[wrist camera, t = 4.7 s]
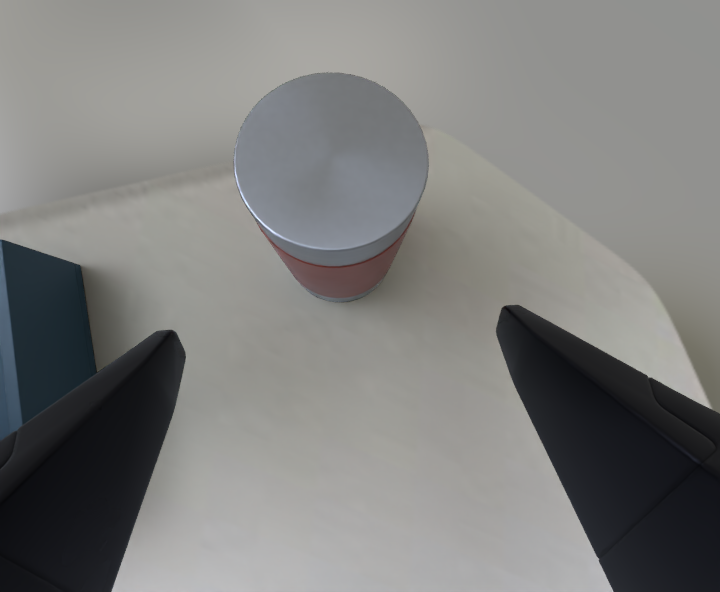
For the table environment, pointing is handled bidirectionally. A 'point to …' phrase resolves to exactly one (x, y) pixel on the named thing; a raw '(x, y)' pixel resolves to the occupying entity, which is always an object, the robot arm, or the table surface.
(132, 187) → the table surface
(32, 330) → the tote
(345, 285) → the tin can
